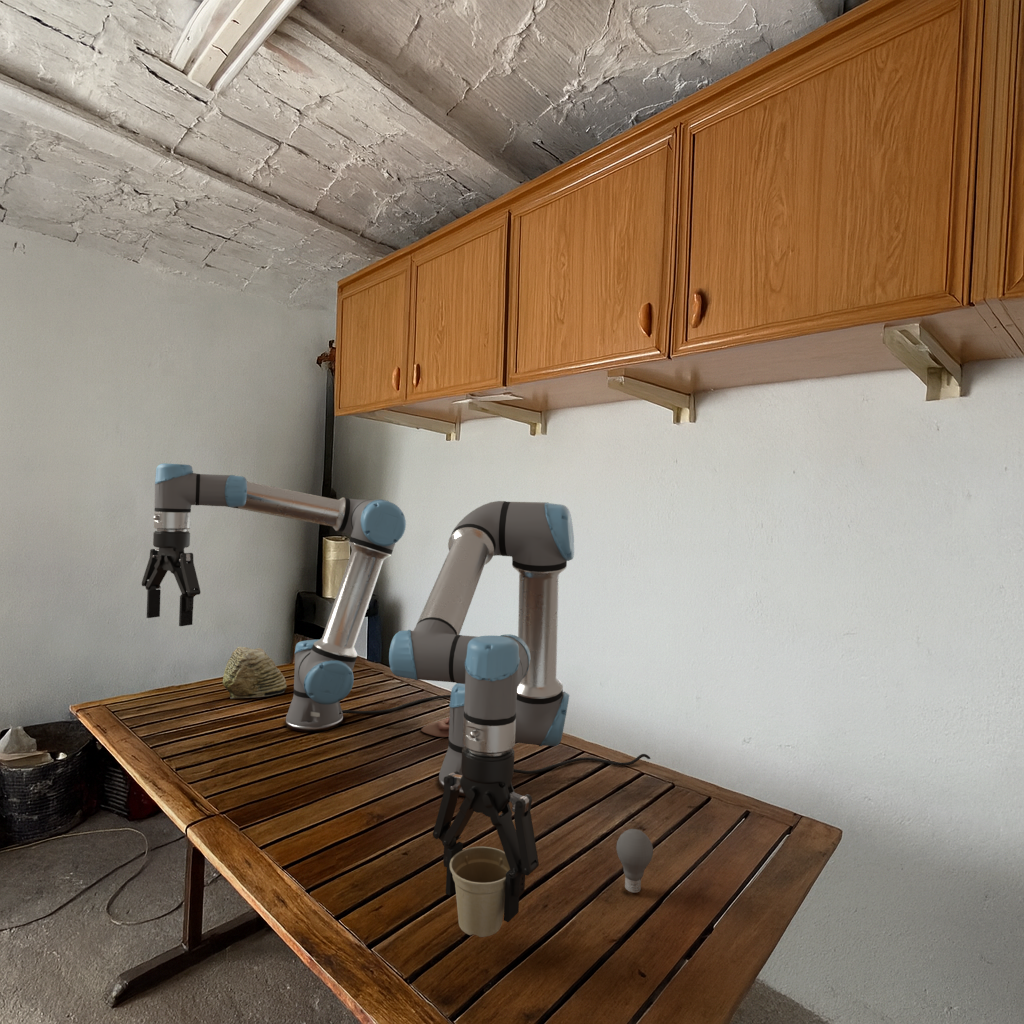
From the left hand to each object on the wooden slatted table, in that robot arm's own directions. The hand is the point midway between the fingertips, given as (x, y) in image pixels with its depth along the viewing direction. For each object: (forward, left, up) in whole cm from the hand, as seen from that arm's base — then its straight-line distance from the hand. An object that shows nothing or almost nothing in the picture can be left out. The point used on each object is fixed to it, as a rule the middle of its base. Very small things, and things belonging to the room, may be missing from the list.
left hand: (169, 621), depth 147 cm
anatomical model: (-61, +33, -33) cm, 76 cm away
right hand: (-3, +96, -26) cm, 99 cm away
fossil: (-40, -31, -33) cm, 60 cm away
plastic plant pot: (-3, +96, -29) cm, 100 cm away
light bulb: (-30, +106, -33) cm, 115 cm away
